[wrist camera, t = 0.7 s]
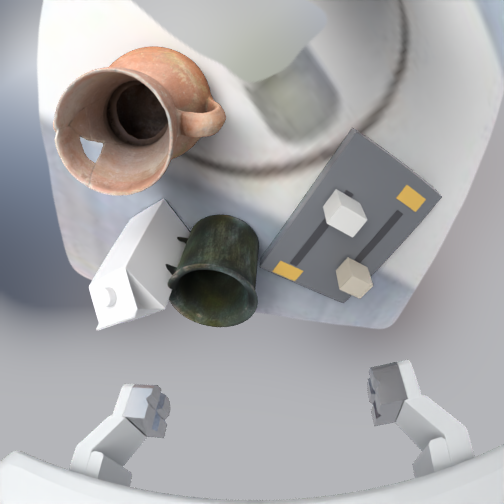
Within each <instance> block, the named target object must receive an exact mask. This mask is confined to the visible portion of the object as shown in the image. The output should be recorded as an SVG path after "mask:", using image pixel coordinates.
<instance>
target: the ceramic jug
mask: <svg viewBox="0 0 504 504" xmlns="http://www.w3.org/2000/svg"><path fill="white" fill-rule="evenodd" d="M225 120H226V115H225V112H224V110H223V109H222V107H221V105H220V104H218V103H217V102H215V101H214V99H213V98H212V95H211V93H210V88H209V85H208V83H207V80H206V78H205V76H204V74H203V73H202V71H201V70H200V68H199V67H198V66H197V65H196V64H195V63H194V62H193V61H192V60H191V59H189V58H188V57H187V56H185V55H183V54H181V53H180V52H177V51H175V50H172V49H168V48H163V47H144V48H139V49H135V50H133V51H130V52H128V53H126V54H124V55H123V56H121V57H120V58H118V59H117V60H116V61H114V62H113V63H112V64H111V65H110V66H109V67H106V68H100V69H95V70H92V71H90V72H87V73H85V74H83V75H81V76H80V77H78V78H77V79H76V80H75V81H73V82H72V83H71V84H70V85H69V86H68V88H67V89H66V90H65V92H64V93H63V95H62V96H61V98H60V100H59V102H58V105H57V108H56V112H55V116H54V122H53V128H54V130H55V132H56V136H55V144H56V148H57V151H58V154H59V156H60V158H61V160H62V162H63V164H64V165H65V167H66V168H67V170H68V171H69V172H70V173H71V174H72V175H73V176H74V177H75V178H76V179H77V180H78V181H80V182H81V183H83V184H84V185H86V186H87V187H89V188H90V189H92V190H95V191H97V192H100V193H103V194H107V195H115V196H117V195H118V196H120V195H130V194H134V193H137V192H141V191H143V190H145V189H147V188H149V187H150V186H152V185H153V184H154V183H156V182H157V181H158V180H159V179H160V178H161V177H162V175H163V174H164V173H165V171H166V169H167V167H168V166H169V164H170V161H171V159H174V158H176V157H178V156H180V155H182V154H184V153H185V152H187V151H188V150H189V149H190V148H192V147H193V146H194V145H195V144H196V143H197V141H198V140H199V139H200V138H201V137H206V136H211V135H214V134H216V133H217V132H218V131H219V130H220V129H221V127H222V126H223V124H224V122H225ZM80 137H82V138H84V139H86V140H88V141H89V140H90V141H96V142H101V143H103V148H102V151H101V154H100V156H99V157H98V159H97V161H96V163H94V162H93V161H91V160H89V158H88V157H87V156H86V154H85V153H84V150H83V147H82V144H81V142H80Z"/></svg>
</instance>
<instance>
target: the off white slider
mask: <svg viewBox="0 0 504 504" xmlns="http://www.w3.org/2000/svg"><path fill="white" fill-rule="evenodd" d="M323 209H324V213H325V218H326V222H327V224H329V225H331V226H332V227H334V228H336V229H338V230H340V231H342V232H343V233H345V234H347V235H349V236H351V237H354V236H355V234H356V233H357V232H358V231H359V230H360V228H361V227H362V226H363V225H364V224H365V222H366V221H367V218H366V215H365V213H364V211H363V208H362V206H361V204H360V203H359V202H357V201H355V200H354V199H352V198H350V197H349V196H347V195H345V194H344V193H342V192H340V191H339V190H337V189H335V191H334V192H333V194H332V195H331V196H330V198H329V199H328V200H327V202H326V203H325V204H324V206H323Z"/></svg>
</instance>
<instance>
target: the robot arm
mask: <svg viewBox="0 0 504 504" xmlns="http://www.w3.org/2000/svg"><path fill="white" fill-rule="evenodd" d="M369 375H370V378H369V379H368V384H367V385H368V397H369V402H370V403H372V404H373V407H372V411H371V412H372V417H373V422H374V426H378V425H383V424H389V423H393V422H396V424H397V425H398V426H399V428H400V429H401V430H402V431H403V432H404V433H405V434H406V435H407V436H408V437H409V438H410V439H411V440H412V441H413V442H414V443H415V444H416V445H417V446H418V447H419V448H420V449H421V450H422V453H421V454H420V455H419V457H418V458H417V459H416V460H415V462H414V463H413V470H414V476H415V478H414V479H410V480H407V481H403V482H399V483H395V484H391V485H387V486H383V487H378V488H373V489H368V490H363V491H357V492H351V493H345V494H338V495H331V496H323V497H314V498H302V499H287V500H223V499H208V498H196V497H188V496H180V495H172V494H165V493H159V492H153V491H148V490H143V489H138V488H133V487H130V483H131V478H132V474H131V472H130V471H128V470H127V469H125V468H124V467H123V466H124V465H125V464H126V462H127V461H128V460H129V459H130V457H131V456H132V455H133V454H134V453H135V451H136V450H137V449H138V448H139V447H140V445H141V444H142V443H143V441H145V439H146V437H157V438H164V436H165V431H166V427H167V424H166V422H165V419H166V418H167V417H168V416H169V413H170V402H169V399H168V397H167V396H166V395H165V394H163V393H161V388H160V387H159V386H158V385H138V384H124V385H123V387H122V389H121V391H120V394H119V397H118V400H117V403H116V406H115V409H114V412H113V415H110V416H109V417H108V418H106V419H105V420H104V421H103V422H102V423H101V424H100V425H99V426H98V427H96V428H95V429H94V430H93V431H92V432H91V433H90V434H89V435H88V436H87V437H86V438H85V439H84V440H82V441H81V442H80V443H79V444H78V445H77V446H76V449H75V452H74V455H73V458H72V462H71V465H70V468H69V470H67V469H65V468H62V467H59V466H56V465H54V464H51V463H48V462H46V461H43V460H41V459H38V458H36V457H33V456H31V455H29V454H26V453H24V452H22V451H14V452H12V453H10V454H9V455H8V456H6V457H5V458H4V459H3V460H1V461H0V504H504V444H503V445H501V446H499V447H497V448H495V449H492V450H490V451H488V452H486V453H483V454H481V455H479V456H477V457H475V455H474V451H473V448H472V444H471V441H470V437H469V434H468V431H467V428H466V427H465V426H464V425H463V424H461V423H460V422H459V421H458V420H456V419H455V418H454V417H453V416H451V415H450V414H449V413H447V412H446V411H445V410H444V409H443V408H441V407H440V406H439V405H438V404H436V403H435V402H434V401H433V400H431V399H430V398H429V397H428V396H426V395H422V394H421V391H420V388H419V385H418V382H417V379H416V376H415V373H414V370H413V367H412V364H411V362H410V360H404V361H399V362H394V363H390V364H385V365H380V366H375V367H371V368H370V370H369Z"/></svg>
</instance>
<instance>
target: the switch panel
mask: <svg viewBox="0 0 504 504" xmlns="http://www.w3.org/2000/svg"><path fill="white" fill-rule="evenodd" d="M335 189H337V190H339V191H340V192H342V193H344V194H345V195H347V196H349V197H350V198H352V199H354V200H355V201H357V202H359V203H360V204H361V206H362V208H363V211H364V213H365V215H366V218H367V221H366V222H365V224H364V225H363V226H362V227H361V228H360V230H359V231H358V232H357V233H356V234H355V236H354V237H351V236H349V235H347V234H345V233H343V232H342V231H340V230H338V229H336V228H334V227H332V226H331V225H329V224H327V222H326V218H325V213H324V209H323V206H324V204H325V203H326V202H327V200H328V199H329V198H330V196H331V195H332V194H333V192H334V191H335ZM441 198H442V196H441V195H440V194H439V193H438V191H437V190H436V189H435V188H433V187H432V186H431V185H430V184H429V183H427V182H426V181H425V180H424V179H422V178H421V177H420V176H419V175H418V174H416V173H415V172H414V171H412V170H411V169H410V168H409V167H407V166H406V165H405V164H403V163H402V162H401V161H399V160H398V159H397V158H395V157H394V156H393V155H391V154H390V153H389V152H387V151H386V150H385V149H383V148H382V147H380V146H379V145H378V144H376V143H375V142H373V141H372V140H370V139H369V138H368V137H366V136H365V135H363V134H362V133H360V132H359V131H357V130H356V129H354V128H353V127H352V129H351V130H350V132H349V133H348V135H347V136H346V137H345V139H344V140H343V142H342V143H341V145H340V146H339V148H338V149H337V150H336V152H335V153H334V155H333V156H332V158H331V159H330V161H329V162H328V163H327V165H326V166H325V168H324V169H323V171H322V172H321V173H320V175H319V176H318V178H317V179H316V181H315V182H314V183H313V185H312V186H311V188H310V189H309V191H308V192H307V193H306V195H305V196H304V198H303V199H302V201H301V202H300V203H299V205H298V206H297V208H296V209H295V211H294V212H293V213H292V215H291V216H290V218H289V219H288V220H287V222H286V223H285V225H284V226H283V228H282V229H281V230H280V232H279V233H278V235H277V236H276V237H275V239H274V240H273V242H272V243H271V245H270V246H269V247H268V249H267V250H266V252H265V253H264V254H263V256H262V257H261V259H260V268H262V269H265V270H267V271H269V272H272V273H274V274H276V275H278V276H281V277H283V278H285V279H288V280H290V281H292V282H295V283H297V284H299V285H302V286H304V287H306V288H309V289H311V290H313V291H316V292H318V293H320V294H323V295H325V296H327V297H330V298H332V299H334V300H337V301H339V302H341V303H344V302H345V301H346V300H347V299H348V298H349V297H350V296H351V294H348V293H346V292H344V291H342V290H339V285H338V280H337V275H336V270H337V269H338V267H339V266H340V265H341V264H342V263H343V262H344V261H345V260H346V259H347V257H349V258H350V259H352V260H354V261H356V262H358V263H360V264H362V265H364V266H366V267H368V270H369V273H370V276H371V275H372V274H373V273H374V272H375V271H376V270H377V269H378V268H379V267H380V266H381V265H382V264H383V263H384V262H385V261H386V260H387V259H388V258H389V257H390V256H391V255H392V253H393V252H394V251H395V250H396V249H397V248H398V247H399V246H400V245H401V244H402V243H403V241H404V240H405V239H406V238H407V237H408V236H409V235H410V234H411V233H412V231H413V230H414V229H415V228H416V227H417V226H418V225H419V224H420V222H421V221H422V220H423V219H424V218H425V217H426V215H427V214H428V213H429V212H430V211H431V210H432V208H433V207H434V206H435V205H436V204H437V202H438V201H439V200H440V199H441Z"/></svg>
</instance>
